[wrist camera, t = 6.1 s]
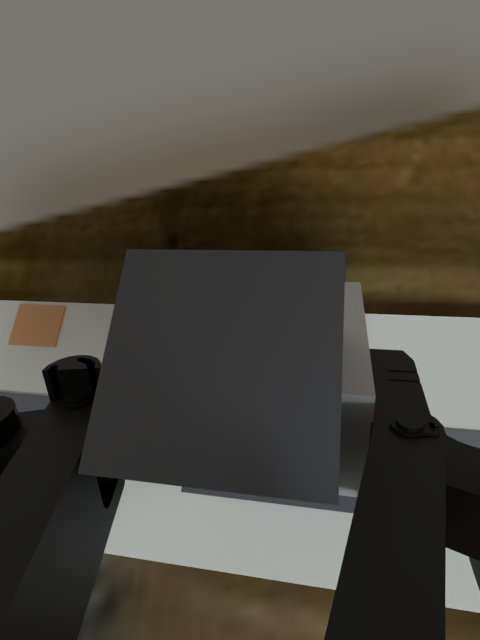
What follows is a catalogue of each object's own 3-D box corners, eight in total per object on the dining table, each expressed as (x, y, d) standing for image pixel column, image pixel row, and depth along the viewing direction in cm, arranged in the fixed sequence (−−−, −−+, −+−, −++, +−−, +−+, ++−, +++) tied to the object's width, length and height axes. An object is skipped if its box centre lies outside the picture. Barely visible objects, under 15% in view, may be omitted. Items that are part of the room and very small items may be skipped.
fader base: (575, 334, 18) (640, 296, 14) (621, 625, 14) (723, 672, 11) (-56, 308, 23) (-123, 276, 20) (-128, 509, 20) (-225, 514, 17)
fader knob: (358, 370, 17) (406, 225, 7) (356, 511, 15) (415, 556, 6) (207, 361, 18) (84, 226, 9) (190, 491, 16) (12, 500, 7)
